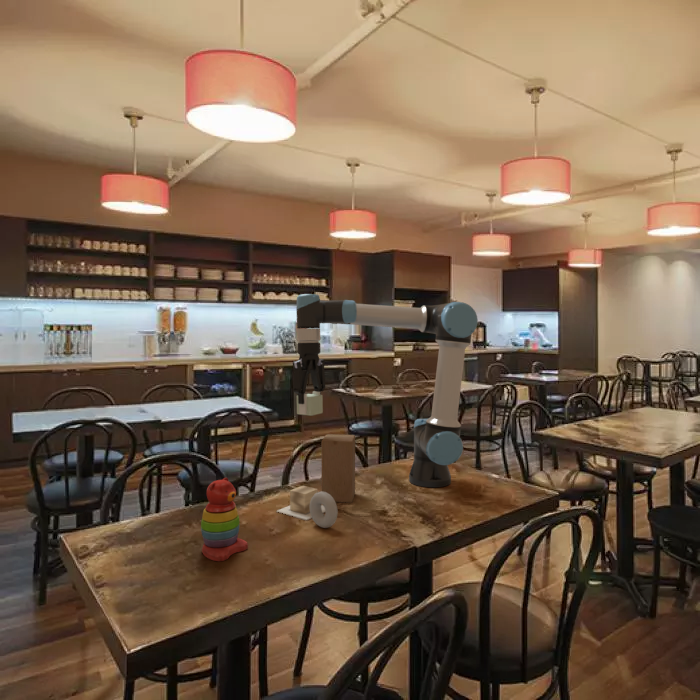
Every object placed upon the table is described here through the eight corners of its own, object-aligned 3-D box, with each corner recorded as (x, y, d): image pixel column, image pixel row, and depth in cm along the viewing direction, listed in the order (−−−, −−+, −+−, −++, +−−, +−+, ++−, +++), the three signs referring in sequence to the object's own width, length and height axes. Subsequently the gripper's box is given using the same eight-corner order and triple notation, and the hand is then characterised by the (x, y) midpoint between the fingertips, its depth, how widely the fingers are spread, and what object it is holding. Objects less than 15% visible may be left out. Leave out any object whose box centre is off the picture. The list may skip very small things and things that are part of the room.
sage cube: (322, 413, 172) (322, 394, 171) (310, 415, 167) (310, 396, 167) (308, 411, 175) (308, 393, 175) (296, 414, 170) (296, 395, 170)
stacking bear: (220, 563, 124) (219, 489, 123) (190, 553, 129) (190, 482, 128) (251, 547, 133) (251, 478, 132) (223, 538, 138) (222, 472, 137)
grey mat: (332, 509, 161) (332, 507, 161) (306, 520, 151) (306, 519, 151) (302, 501, 168) (302, 500, 168) (276, 512, 158) (276, 510, 158)
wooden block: (352, 503, 166) (352, 441, 166) (321, 502, 167) (321, 440, 167) (355, 493, 176) (355, 434, 176) (325, 492, 177) (325, 434, 177)
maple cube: (317, 508, 160) (317, 489, 160) (305, 514, 155) (304, 494, 155) (303, 504, 164) (303, 485, 164) (290, 509, 159) (290, 490, 159)
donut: (340, 530, 144) (340, 494, 144) (331, 533, 142) (331, 497, 141) (315, 520, 151) (315, 486, 151) (306, 524, 149) (306, 489, 148)
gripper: (318, 341, 180) (319, 407, 181) (280, 342, 165) (281, 415, 166) (335, 341, 175) (336, 409, 176) (297, 342, 160) (299, 417, 161)
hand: (310, 412), depth 171 cm, fingers closed on sage cube, 6 cm apart
